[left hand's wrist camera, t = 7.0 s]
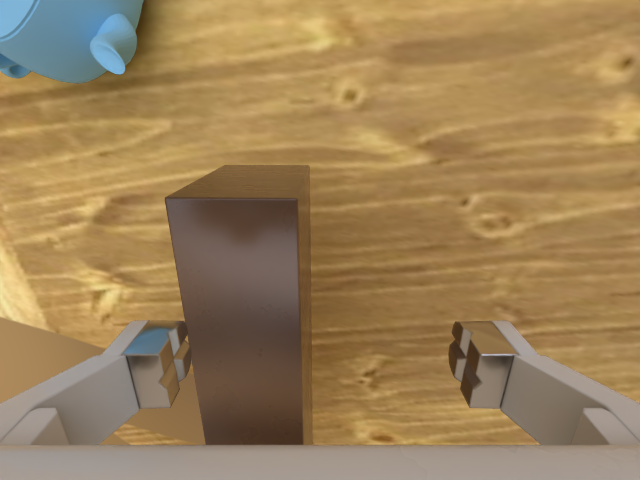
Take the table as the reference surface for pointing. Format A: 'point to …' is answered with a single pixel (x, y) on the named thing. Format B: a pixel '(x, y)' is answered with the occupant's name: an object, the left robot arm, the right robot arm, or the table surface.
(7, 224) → the table surface
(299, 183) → the bar
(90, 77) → the teapot
